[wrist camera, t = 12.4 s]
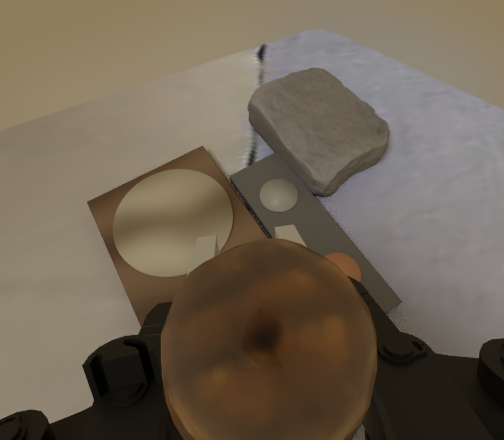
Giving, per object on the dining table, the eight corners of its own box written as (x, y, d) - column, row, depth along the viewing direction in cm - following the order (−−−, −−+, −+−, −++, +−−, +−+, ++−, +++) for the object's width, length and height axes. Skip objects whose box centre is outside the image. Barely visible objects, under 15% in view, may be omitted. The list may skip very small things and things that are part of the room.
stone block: (312, 96, 36) (237, 122, 32) (327, 56, 32) (243, 79, 28) (386, 171, 32) (309, 210, 28) (414, 135, 28) (329, 175, 24)
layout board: (93, 208, 28) (85, 200, 27) (204, 153, 31) (202, 143, 29) (229, 516, 19) (226, 527, 17) (377, 402, 21) (384, 403, 20)
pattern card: (230, 181, 29) (229, 175, 28) (276, 156, 30) (277, 150, 29) (343, 342, 23) (347, 340, 22) (397, 304, 24) (403, 301, 23)
